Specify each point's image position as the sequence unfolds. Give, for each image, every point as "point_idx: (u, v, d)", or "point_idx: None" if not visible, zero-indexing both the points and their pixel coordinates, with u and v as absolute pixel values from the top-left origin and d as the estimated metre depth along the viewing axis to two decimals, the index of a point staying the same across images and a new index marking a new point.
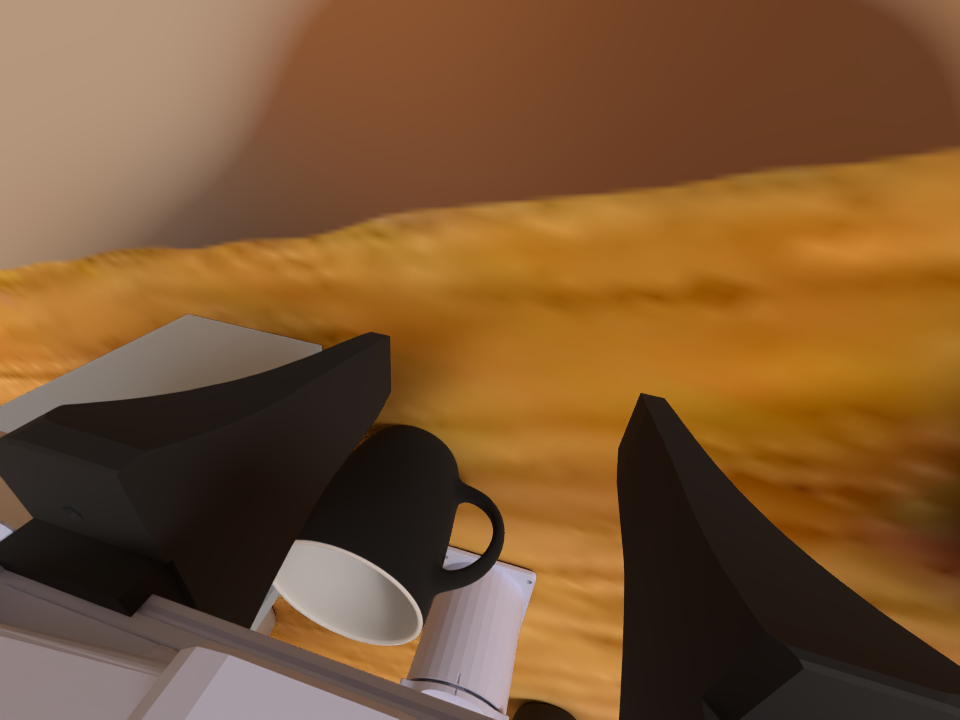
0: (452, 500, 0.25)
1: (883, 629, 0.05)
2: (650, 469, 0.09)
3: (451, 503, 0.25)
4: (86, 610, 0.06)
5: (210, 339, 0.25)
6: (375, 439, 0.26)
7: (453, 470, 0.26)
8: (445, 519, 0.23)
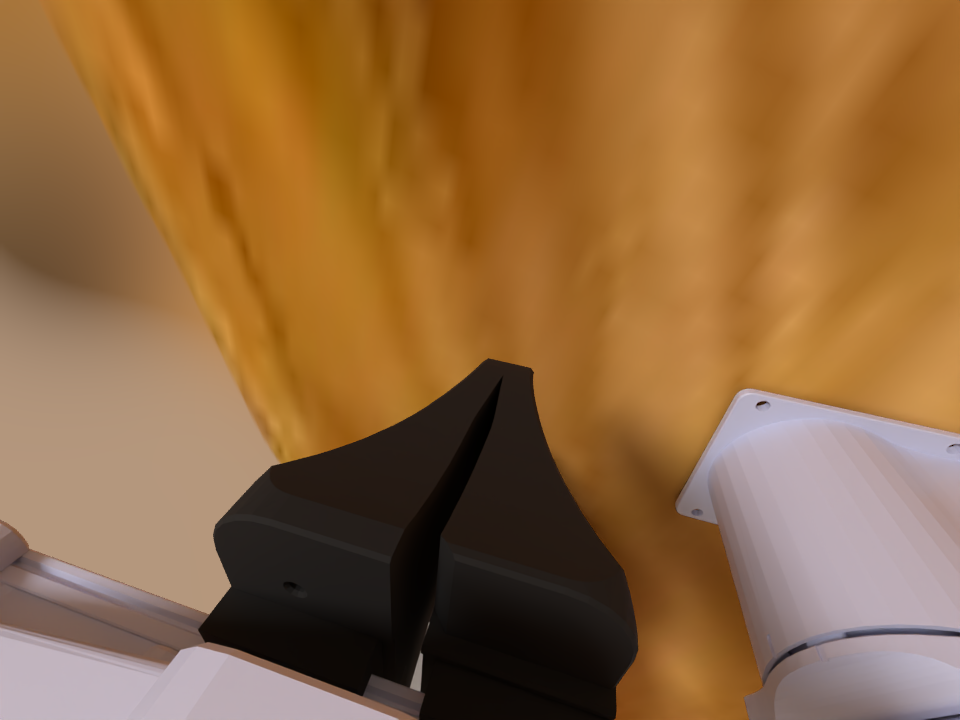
0: None
1: (576, 540, 0.05)
2: None
3: None
4: None
5: None
6: None
7: None
8: None
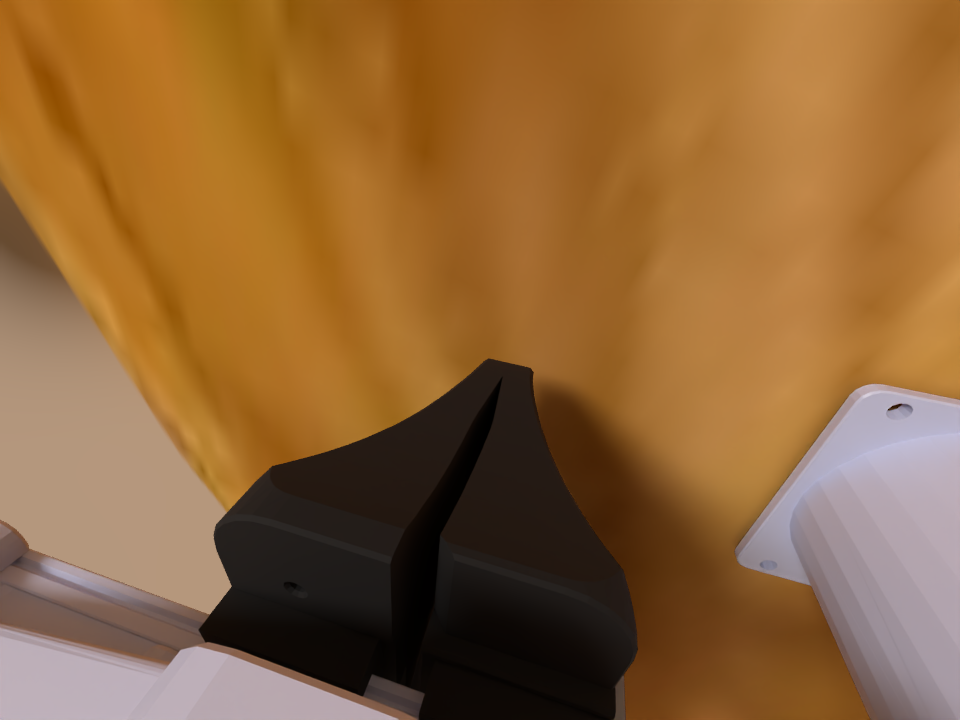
0: None
1: (575, 540, 0.05)
2: None
3: None
4: None
5: None
6: None
7: None
8: None
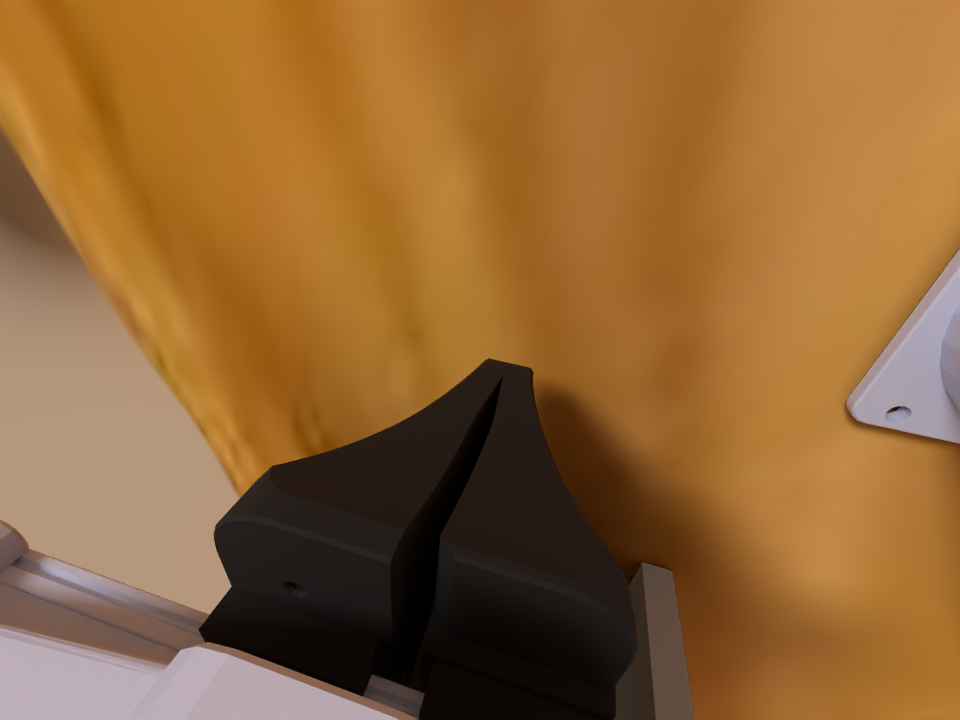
0: None
1: (575, 541, 0.05)
2: None
3: None
4: None
5: None
6: None
7: None
8: None
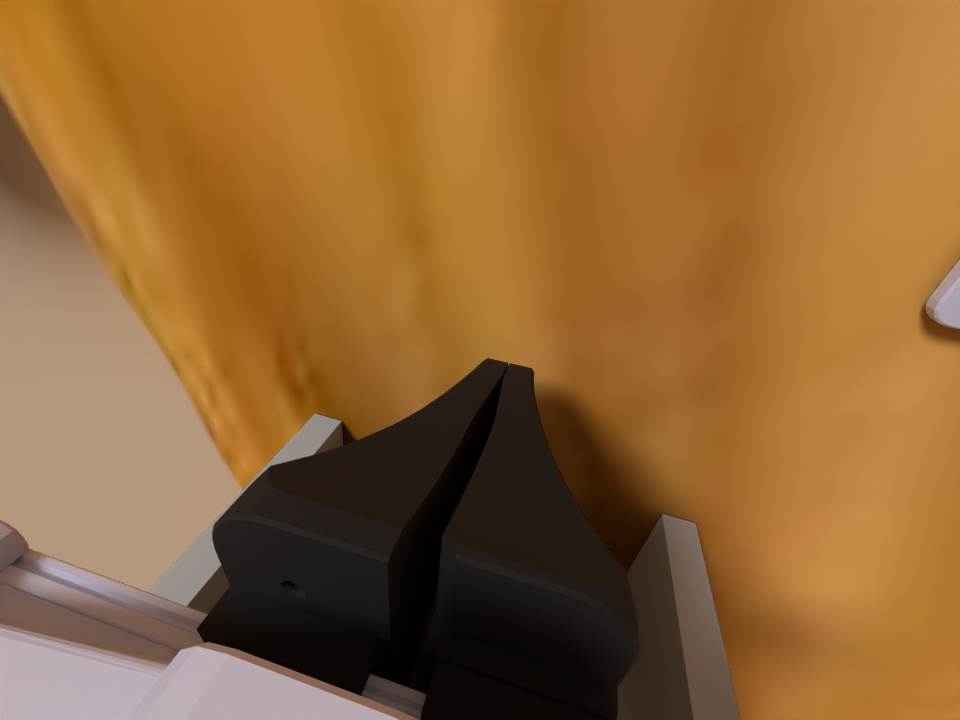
0: None
1: (577, 541, 0.05)
2: None
3: None
4: None
5: None
6: None
7: None
8: None
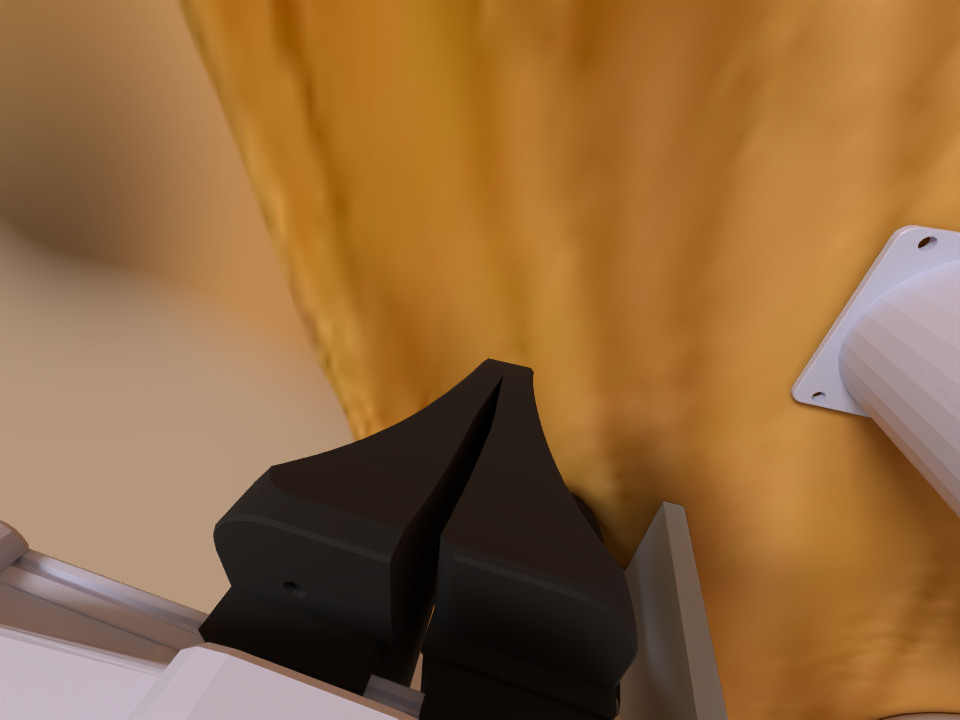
0: None
1: (576, 540, 0.05)
2: None
3: None
4: None
5: None
6: None
7: None
8: None
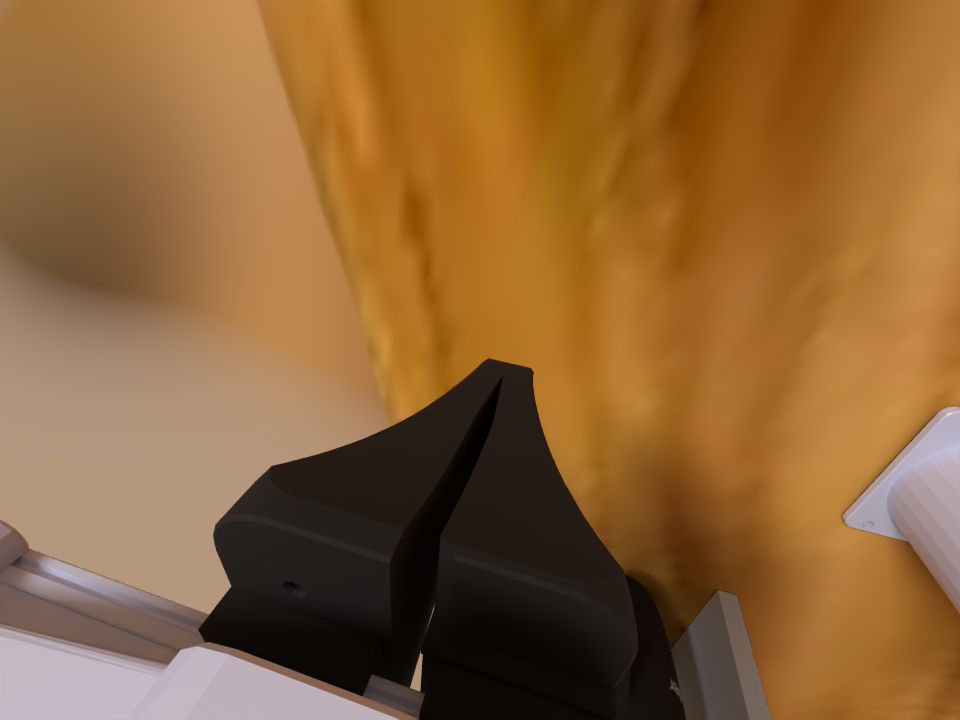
0: None
1: (576, 541, 0.05)
2: None
3: None
4: None
5: None
6: None
7: None
8: None
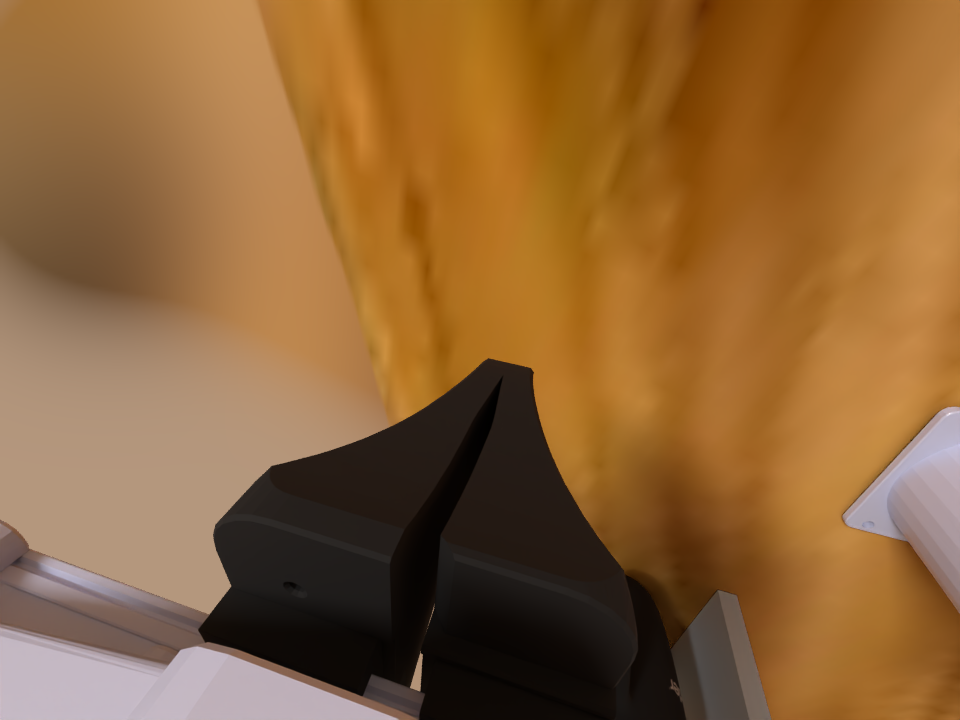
0: None
1: (576, 541, 0.05)
2: None
3: None
4: None
5: None
6: None
7: None
8: None
